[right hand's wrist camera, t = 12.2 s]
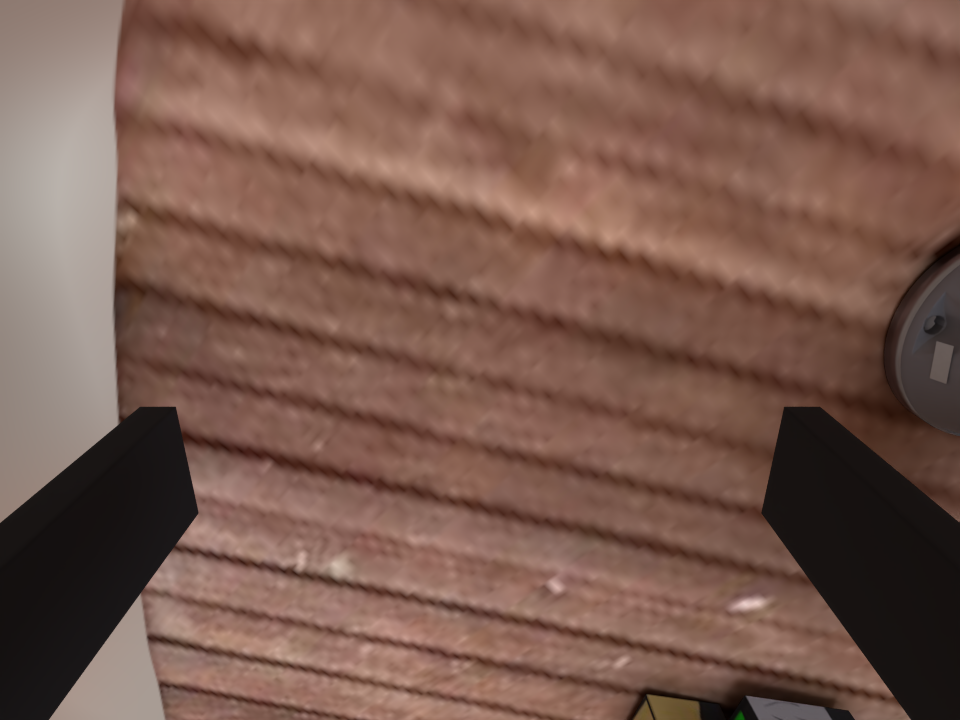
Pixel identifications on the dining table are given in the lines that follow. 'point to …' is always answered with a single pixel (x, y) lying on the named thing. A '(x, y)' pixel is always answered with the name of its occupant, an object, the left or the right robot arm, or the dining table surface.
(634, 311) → the dining table surface
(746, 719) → the toy
